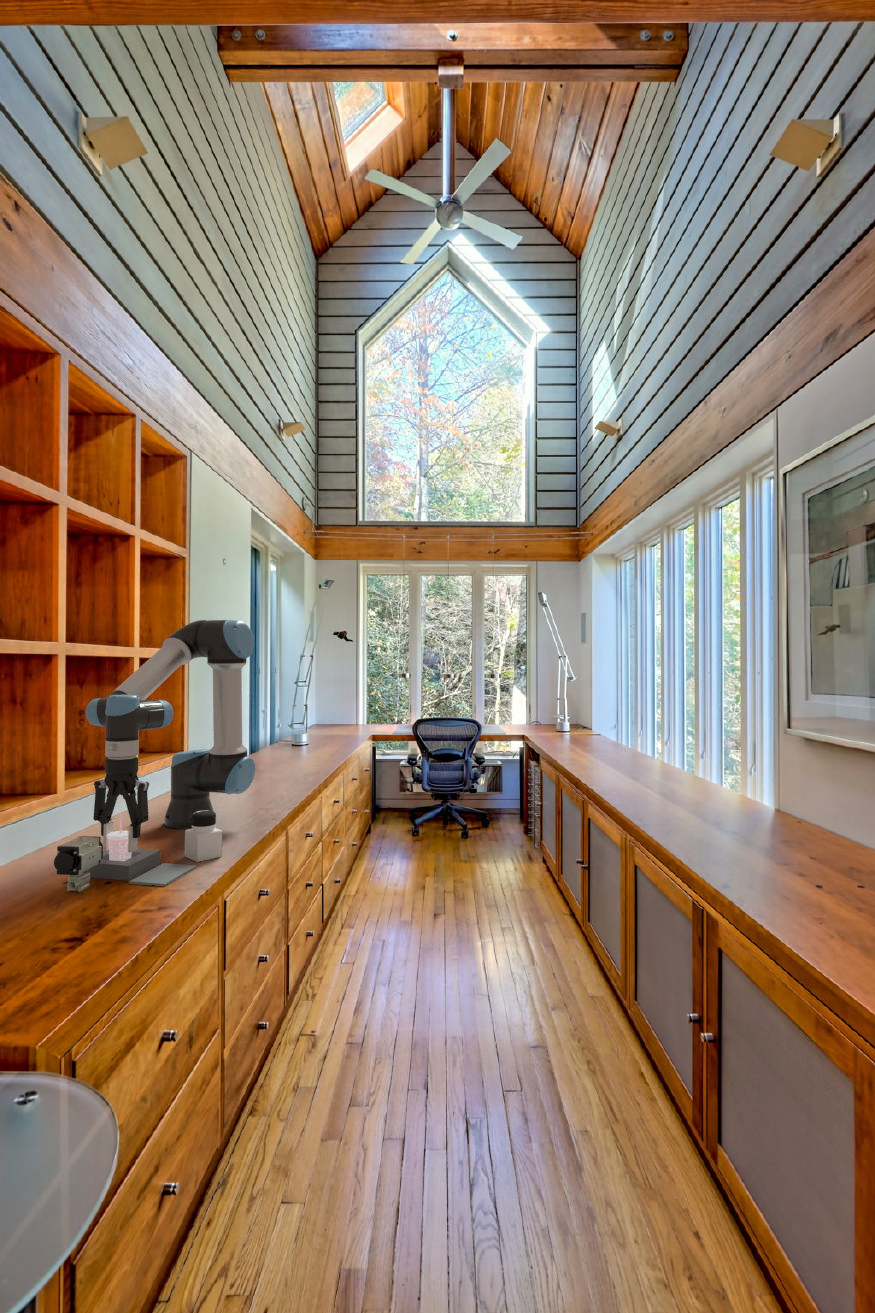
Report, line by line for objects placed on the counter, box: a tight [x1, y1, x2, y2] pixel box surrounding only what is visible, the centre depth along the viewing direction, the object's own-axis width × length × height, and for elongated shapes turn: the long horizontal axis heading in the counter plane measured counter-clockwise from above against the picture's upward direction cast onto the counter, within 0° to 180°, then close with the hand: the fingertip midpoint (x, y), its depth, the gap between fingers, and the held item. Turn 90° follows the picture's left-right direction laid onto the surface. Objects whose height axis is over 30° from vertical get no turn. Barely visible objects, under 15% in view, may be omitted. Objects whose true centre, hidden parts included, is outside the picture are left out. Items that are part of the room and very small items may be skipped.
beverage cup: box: [107, 812, 132, 861], centre depth 166 cm, size 6×6×14 cm
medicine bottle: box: [184, 810, 223, 863], centre depth 177 cm, size 7×7×12 cm
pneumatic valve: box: [53, 835, 103, 893], centre depth 152 cm, size 6×12×12 cm, turn 176°
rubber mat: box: [129, 862, 197, 887], centre depth 162 cm, size 14×9×1 cm, turn 171°
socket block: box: [82, 848, 161, 881], centre depth 165 cm, size 13×14×4 cm
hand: (120, 849), depth 166 cm, fingers closed on beverage cup, 6 cm apart
